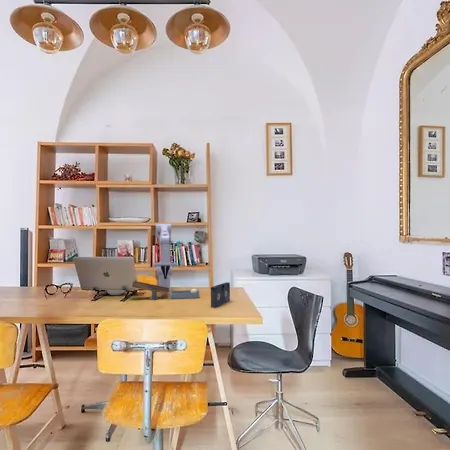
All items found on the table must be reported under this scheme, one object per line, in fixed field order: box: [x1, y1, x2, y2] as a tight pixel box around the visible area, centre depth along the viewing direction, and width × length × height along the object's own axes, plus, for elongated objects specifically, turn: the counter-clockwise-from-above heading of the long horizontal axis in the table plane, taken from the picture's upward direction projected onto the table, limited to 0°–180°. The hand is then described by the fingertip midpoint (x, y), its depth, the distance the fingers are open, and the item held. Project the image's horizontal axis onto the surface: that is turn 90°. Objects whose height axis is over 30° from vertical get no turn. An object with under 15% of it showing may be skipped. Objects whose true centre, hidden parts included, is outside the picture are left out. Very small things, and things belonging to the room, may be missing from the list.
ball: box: [190, 288, 198, 293], centre depth 197 cm, size 4×4×4 cm
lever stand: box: [149, 289, 159, 301], centre depth 194 cm, size 11×4×6 cm, turn 8°
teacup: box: [106, 290, 125, 296], centre depth 206 cm, size 14×11×8 cm
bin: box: [169, 287, 200, 300], centre depth 196 cm, size 9×16×4 cm, turn 98°
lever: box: [131, 279, 170, 295], centre depth 198 cm, size 15×20×3 cm
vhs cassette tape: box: [210, 281, 231, 309], centre depth 178 cm, size 18×3×10 cm, turn 154°
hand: (165, 278), depth 204 cm, fingers closed
